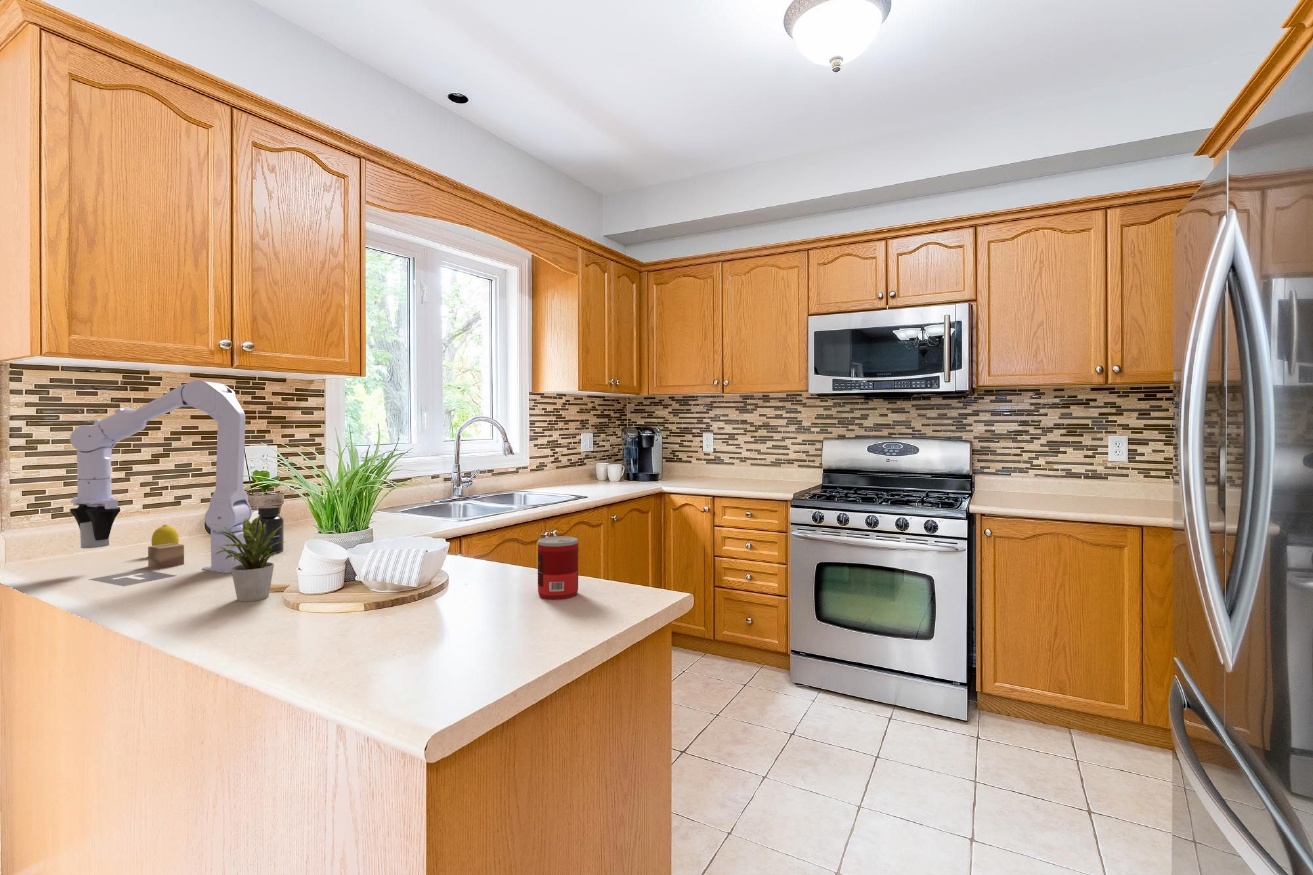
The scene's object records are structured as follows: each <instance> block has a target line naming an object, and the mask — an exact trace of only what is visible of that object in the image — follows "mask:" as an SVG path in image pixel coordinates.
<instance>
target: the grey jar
mask: <svg viewBox="0 0 1313 875" xmlns="http://www.w3.org/2000/svg"><path fill="white" fill-rule="evenodd" d="M79 533H80V534H79V535H80V536H79V537H80V539H79V540H80V549H96V548H103V547H104V548H105V547H108V546H110V537H109V538H108V539H105V540H98V541H97V540H95V537H94V532H93V526H92V522H91V521H90V522H83V523H80V528H79Z"/></svg>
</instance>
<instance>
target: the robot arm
mask: <svg viewBox="0 0 1313 875" xmlns="http://www.w3.org/2000/svg"><path fill="white" fill-rule="evenodd" d="M183 407H191V408H194V409H196V410H199V411H201V412H203V413H205V414H207V415H208V416H210V417H211V418H212V419H213V420H214V421H216V423H217V437H216V441H217V442H216V443H217V444H216V465H215V466H216V467H215V468H216V469H215V471H216V472H215V490H214V492H213V494H212V496H211V498H210V499H209V507H208V509H207V510H206V512H205V514H204V522H205V524H206V526H207V527H208V528H209V529H210V565H208V566H203V567H202V570H203V571H204V570H205V571H210V572H217V573H223V574H229V573H232V572H231V568H232V567H234V566H237V565H241V564H242V563H241V562H239V561H238V560H237V559H235V561H234V557H233V556H232V557H229V558H227V559H226V557H227V556H228V555H230V554H229V553H227V552H226V551H225V552H220V553H218V554H216V553H217V552H219V551H222V550H224V549H222V548H225V549H226V550H232V551H235V552H236V553H241V552H240V550H239V549H238V548H237V547H236V546H225V544H234V542H233V541H232V540H231V539H229V538H228V537H226V536H225V535H219V534H226V533H224V532H228V531H229V530H230V531H231V532H232V533H233V534H234V535H235V536H236V537H237V538H238V539H239V540H240V541H241V543H242V544H246V542H245V539H244V537H243V535H244V533H243V522H244V521H245V518H246V519H248V520H249V521H250V520H251V518H252V515H253V509H252V508H251V507H252V506H251V505H250V503H249V495H248V494H247V492H246V491H245V490H244V474H245V472H244V468H245V465H244V464H245V439H246V435H245V434H246V414H245V411H244V409H243V407H242V406H241V404H240V403H239V401H238V399H237V398H236V392H235V391H234V390H233V389H232V388H230V387H229V386H227V385H226V384H224V383H221V382H217V381H216V382H212V381H205V380H202V379H194V380H191V381H188V382H187V383H185V384H181V385H178V386H177V387H175V388H174V389H172V390H170V391H168V392H166V393H165V394H162V395H161V396H158V397H157V398H156V399H153V400H152V401H149V402H148V403H146V404H145V405H142V406H140V407H138V408H136V409H134V408H131V407H126V408H123V407H122V408H121V407H120V408H117V409H115V410H114V413H113V414H111V415H109V416H107V417H105V418H102V419H98V418H97V419H95V420H94V421H93V424H92V425H91V424H90V425H87V424H83V425H79V426H78V427H76V428H75V429H73V431H72V432H71V434H70V436H69V442H70V444H71V446H72V448H74V449H75V450H76V466H77V467H76V468H77V469H76V470H77V471H76V472H77V478H76V479H77V496H74V497H72V499H71V500H70V502H71V504H72V506H73V507H74V508H70V509H69V512H70V513H71V515H73V518H74V519H75V521H76V523H77V525H78V528H79V529H80V523H83V522H90V521H91V522H92V526H93V532H94V537H95V540H97V541H98V540H105V539H108V538H109V539H110V534H111V530H112V528H113V524H114V522H115V520H116V518H117V516H118V515H119V513H120V512H121V508H120V507H118V506H119V505H118V504H119V502H118V501H119V500H118V499H116V498H115V497H113V495H112V494H113V493H112V491H113V490H112V450H113V448H114V447H115V446H116V445H117V443H119V442H121V441H122V440H125V439H127V438H130V437H131V436H133V435H135V434H137V433H139V432H141V431H144V430H145V428H146V425H147V422H149V421H152V420H153V419H157V418H158V417H161V416H163V415H165V414H168V413H171V412H172V411H174V410H177V409H179V408H183ZM75 506H76V507H75ZM211 524H215V525H211ZM219 525H221V526H219ZM222 526H224V527H226V528H227V529H229V530H227V529H226V528H224V527H222ZM218 529H222V530H218ZM226 530H227V531H226ZM220 531H224V532H220ZM230 531H229V532H228V533H230ZM230 534H231V533H230ZM226 535H228V534H226ZM229 536H230V535H229ZM230 537H231V536H230ZM233 539H234V538H233ZM234 540H235V539H234ZM235 541H236V540H235ZM255 541H256V538H255ZM236 542H237V541H236ZM237 543H238V542H237ZM214 546H218V547H214ZM220 547H222V548H220ZM240 548H241V547H240ZM241 549H242V548H241ZM232 551H231V552H232ZM242 551H243V552H244V550H243V549H242ZM235 552H234V553H235ZM244 553H245V552H244ZM215 554H216V555H215ZM231 554H232V553H231ZM232 555H233V554H232ZM242 556H243V555H242ZM245 556H246V555H245ZM225 559H226V560H225ZM238 559H239V558H238ZM239 560H240V559H239ZM240 561H241V560H240Z"/></svg>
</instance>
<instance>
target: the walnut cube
mask: <svg viewBox="0 0 1313 875" xmlns="http://www.w3.org/2000/svg"><path fill="white" fill-rule="evenodd" d="M147 559H148V560H147V567H149V568H155V569H164V568H172V567H175V566H176V567H177V566H182V565H185V545H184V544H179V543H178V544H174V543H169V544H163V545H156V546H152V545H149V546H148V547H147Z"/></svg>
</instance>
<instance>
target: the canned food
mask: <svg viewBox="0 0 1313 875" xmlns="http://www.w3.org/2000/svg"><path fill="white" fill-rule="evenodd" d="M578 591H579V540H578V538H577V537H573V536H567V535H562V536H560V535H557V536H546V537H541V538H539V539H538V540H537V592H538V595H539V597H540V598H541V599H544V600H545V599H546V600H564V599H565V600H566V599H570V598H573V597H575V596H577V594H578Z"/></svg>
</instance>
